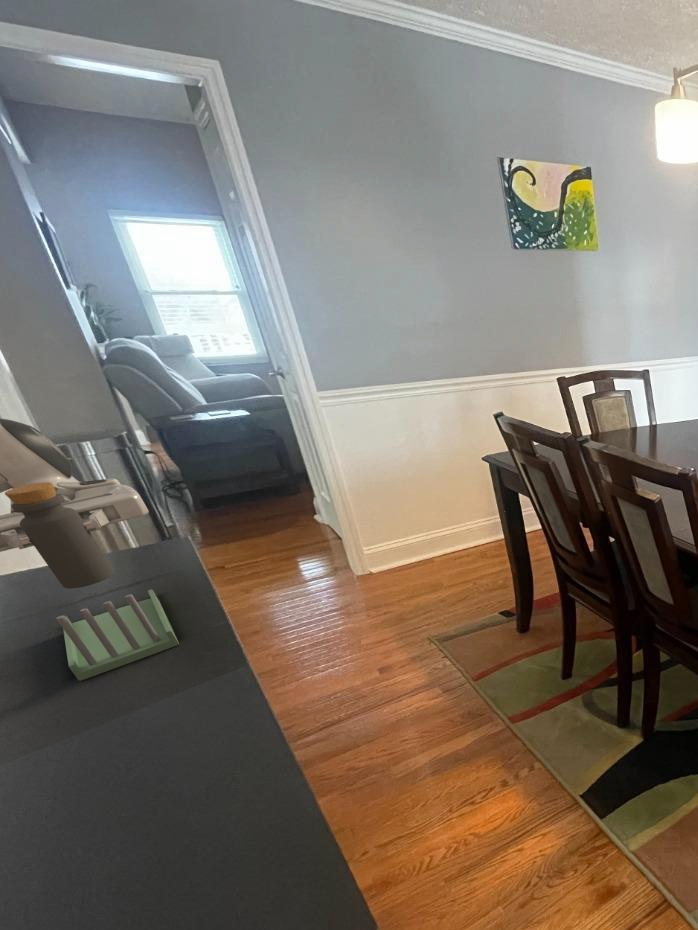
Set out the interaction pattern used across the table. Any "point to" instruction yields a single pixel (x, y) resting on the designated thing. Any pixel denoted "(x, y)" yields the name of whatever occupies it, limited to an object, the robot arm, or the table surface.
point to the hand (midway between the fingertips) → (58, 533)
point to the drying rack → (116, 636)
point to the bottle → (60, 536)
